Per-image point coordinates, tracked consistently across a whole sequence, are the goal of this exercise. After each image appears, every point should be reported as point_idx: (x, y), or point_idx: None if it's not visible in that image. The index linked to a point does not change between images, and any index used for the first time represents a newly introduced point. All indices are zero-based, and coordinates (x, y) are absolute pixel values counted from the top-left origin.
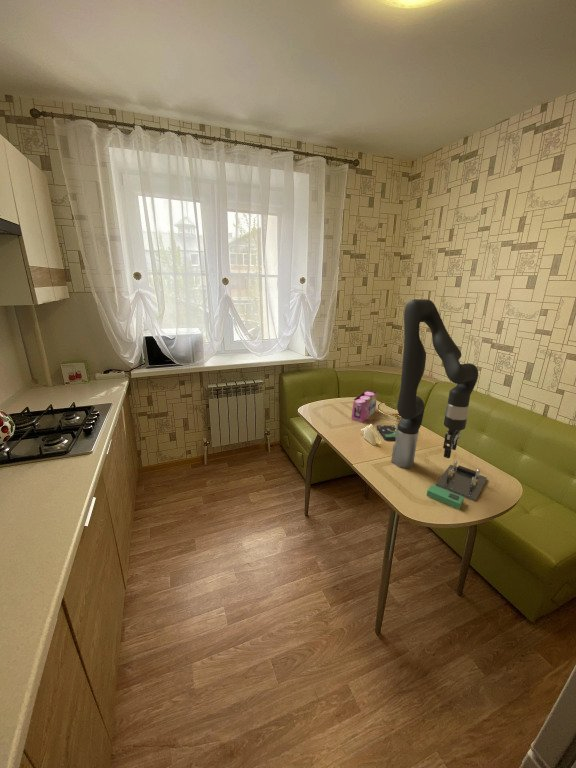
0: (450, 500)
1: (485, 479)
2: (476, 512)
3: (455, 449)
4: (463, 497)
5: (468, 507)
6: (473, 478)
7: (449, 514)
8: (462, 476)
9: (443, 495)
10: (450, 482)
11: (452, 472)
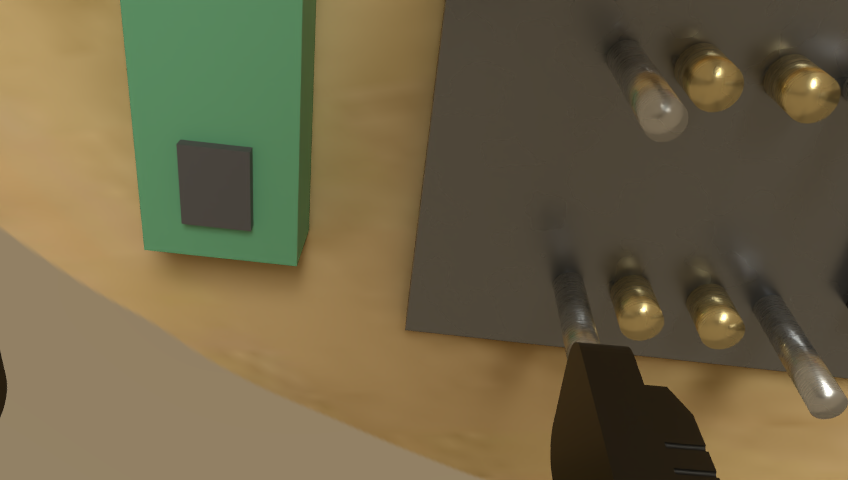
0: (140, 162)
1: (837, 373)
2: (243, 332)
3: (552, 467)
4: (283, 263)
5: (267, 277)
6: None
7: (24, 157)
8: (800, 187)
9: (159, 88)
10: (580, 90)
11: (782, 96)
